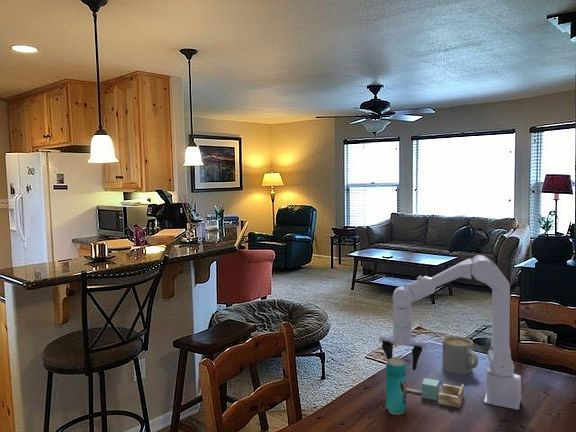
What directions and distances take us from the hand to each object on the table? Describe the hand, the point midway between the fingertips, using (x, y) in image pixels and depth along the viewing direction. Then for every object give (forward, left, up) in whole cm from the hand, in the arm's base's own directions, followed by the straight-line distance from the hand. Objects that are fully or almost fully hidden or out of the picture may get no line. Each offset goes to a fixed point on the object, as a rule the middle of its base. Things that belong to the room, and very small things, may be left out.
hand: (402, 366), depth 150 cm
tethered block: (-5, 0, -8) cm, 9 cm away
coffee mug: (-14, -24, -8) cm, 29 cm away
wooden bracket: (-15, 0, -8) cm, 17 cm away
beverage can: (-2, +14, -8) cm, 16 cm away
